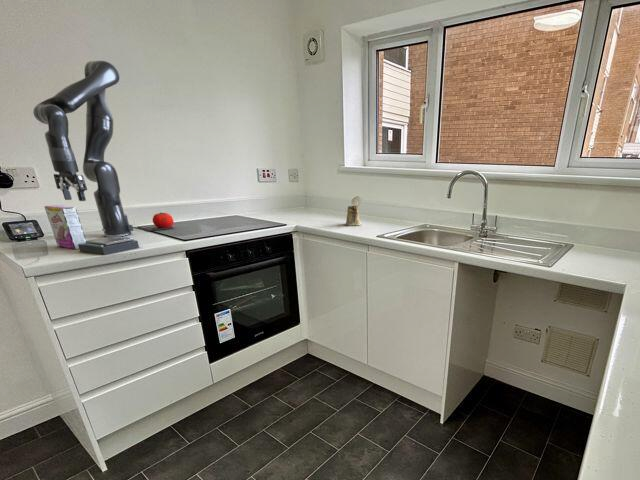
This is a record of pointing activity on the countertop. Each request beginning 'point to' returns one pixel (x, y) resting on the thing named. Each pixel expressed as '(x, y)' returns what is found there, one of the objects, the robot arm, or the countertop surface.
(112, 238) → the gray square plate
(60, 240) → the candy bar box
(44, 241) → the countertop surface
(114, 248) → the scale
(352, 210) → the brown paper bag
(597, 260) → the countertop surface
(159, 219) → the tomato
